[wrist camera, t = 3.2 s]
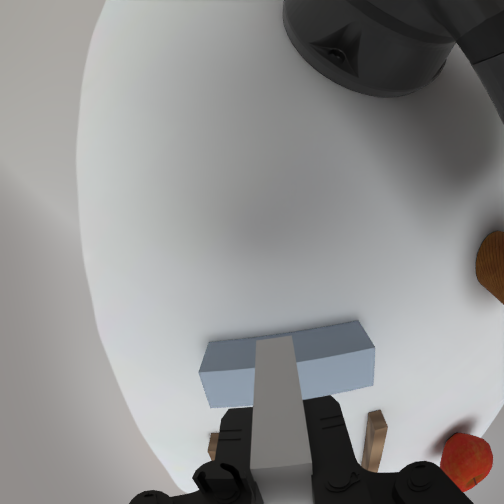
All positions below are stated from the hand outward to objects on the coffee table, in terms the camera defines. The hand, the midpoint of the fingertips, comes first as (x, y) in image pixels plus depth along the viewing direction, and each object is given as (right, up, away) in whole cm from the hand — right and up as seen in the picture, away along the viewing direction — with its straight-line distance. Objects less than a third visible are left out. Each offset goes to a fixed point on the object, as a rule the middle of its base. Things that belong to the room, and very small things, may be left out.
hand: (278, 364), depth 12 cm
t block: (+3, -7, +15) cm, 17 cm away
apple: (+30, -24, +18) cm, 42 cm away
